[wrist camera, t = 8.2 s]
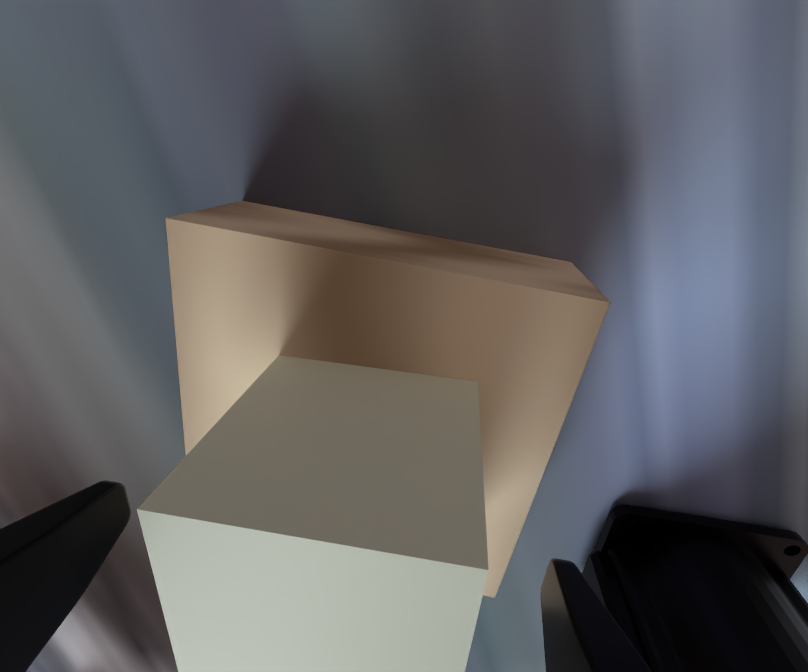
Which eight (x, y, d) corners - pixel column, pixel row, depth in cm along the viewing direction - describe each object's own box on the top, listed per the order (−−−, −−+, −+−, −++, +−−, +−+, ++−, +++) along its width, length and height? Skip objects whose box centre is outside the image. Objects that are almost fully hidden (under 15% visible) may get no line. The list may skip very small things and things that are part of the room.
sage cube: (477, 381, 10) (488, 570, 5) (452, 530, 12) (444, 756, 8) (278, 355, 10) (137, 509, 6) (286, 502, 13) (185, 700, 8)
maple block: (567, 258, 12) (610, 302, 9) (488, 500, 17) (494, 597, 13) (248, 199, 13) (165, 218, 9) (249, 448, 17) (192, 527, 14)
